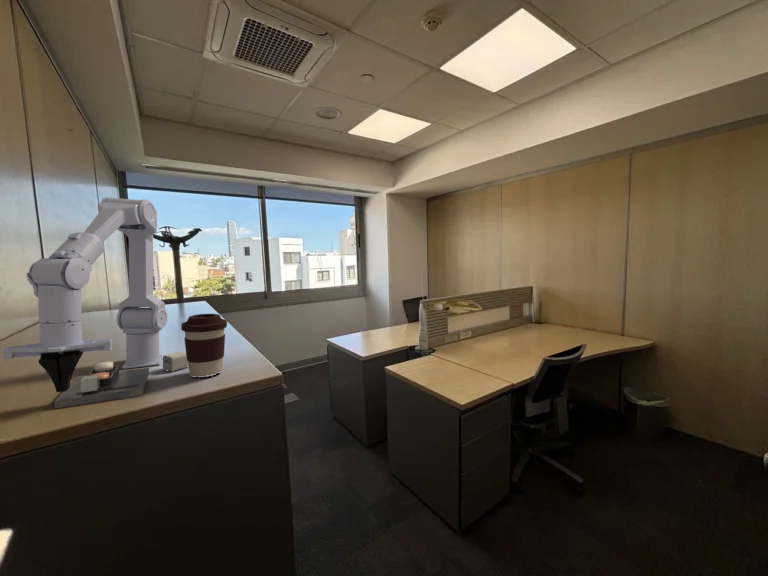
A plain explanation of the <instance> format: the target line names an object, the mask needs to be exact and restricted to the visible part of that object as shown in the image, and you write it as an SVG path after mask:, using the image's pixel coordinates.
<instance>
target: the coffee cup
mask: <svg viewBox="0 0 768 576" xmlns="http://www.w3.org/2000/svg"><path fill="white" fill-rule="evenodd" d="M227 327H228V321H227V319H224V318H222V316H221V315H220V314H217V313H200V314H198V313H197V314H193V315H190V316H188V318H187V320H186V321H183V322H182V323H181V331H183V332H184V346H185V353H186V356H187V361H188V364H189V367H188V370H189V371H188V372H189V376H190V375H191V376H196V377H198V376H206V375H211V374H215V373H217V372H220V371H221V370H222V371H223V365H224V364H223V363H224V356H225V346H226V344H225V343H226V334H225V329H226V328H227ZM191 376H190V377H191Z"/></svg>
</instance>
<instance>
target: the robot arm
mask: <svg viewBox="0 0 768 576" xmlns="http://www.w3.org/2000/svg"><path fill="white" fill-rule="evenodd" d="M97 211H98V213H97V215H96V216H95V217H94V219H93V220H92V221H91V223H89V224H88V226H87V228H86V229H85V231H84V232H74V233H70V234H69V235H68V236H67V239H66V240H65V241H64V242H63V243H62V244H61V245H60V246H59V247H57V249H56V250H54V252H53V253H52V254H51V255H50V256H48V257H44V258H40V259H37V261H35V262H33V263H32V264H31V265H30V267H29V269H28V272H26V277H27V281H28V282H29V284H30V285H31V286H32V288H33V295H35V297H36V298H37V300H38V302H37V306H38V327H39V328H38V329H39V331H38V332H39V342H38V343H30V344H28V343H27V344H19V345H10V346H9V345H8V346H6V347H3V348H2V357H3V360H8V359H9V360H10V359H11V360H12V359H14V358H24V357H37V356H38V357H39V356H40V358H39V359H38V361H37V362H38V364H39V366H41V367H42V368H43V369H44V370H45V373H47V374H48V376H49V377H50V379H51V380H52V383H53V386H54V388H55V392H56V393H62V392H63V391H67V390H68V389H69V387H70V384H71V382H72V381H71V380H72V377H73V374H74V372H75V369H76V368H77V365H78V363H79V362H80V359H81V358H82V356H83V355H84V352H95V351H97V352H99V351H104V352H106V351H111V350H112V349H113V339H112V338H108V339H83V317H82V316H83V315H82V313H83V312H82V311H83V310H82V309H83V308H82V288H84V287H85V286H86V285H87V284H88V283H89V282H90V277H91V272H92V269H93V264H94V263H96V261H97V260H98V259H99V257H100V256H101V255H102V253H104V252H105V245H104V242H105V241H106V240H107V239H108V238H109V237H110V236H112V234H113V233H115V232H116V231H117V230H118V231H119V232H121V233H124V234H125V235H126V236H127V237H128V275H129V276H128V292H129V294H128V295H129V296H128V297H127V298H126V299H123V300H122V301H121V302H120V303H118V305H119V307H118V308H119V309H118V313H117V314H116V324H117V326H118V328H119V329H120V330H122V333H124V334H125V349H126V350H125V352H126V357H125V358H126V360H125V362H124V364H123V365H122V367H121V369H123V370H124V369H133V368H141V367H142V368H143V367H144V368H145V367H150V366H160V365H161V363H162V360H163V354H160V331H162V330H163V329H164V327H165V326H166V324H167V322H168V313H167V310H166V305H165V302H164V301H162V300H161V299H160V298H158V297H157V296H155V295H154V235H155V234H156V233H158V211H157V209H156V207H155V205H154V204H153V203H152V202H151V201H150V200H148V199H131V198H118V197H116V198H115V197H109V196H106V197H103V198H102V200H101V201H100V202H99V203H98V204H97Z"/></svg>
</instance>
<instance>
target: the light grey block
mask: <svg viewBox="0 0 768 576" xmlns="http://www.w3.org/2000/svg"><path fill="white" fill-rule="evenodd" d="M98 389H99V375H94V376H85V377H83V378H82V379H81V393H83V392H90V391H97V390H98Z"/></svg>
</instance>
